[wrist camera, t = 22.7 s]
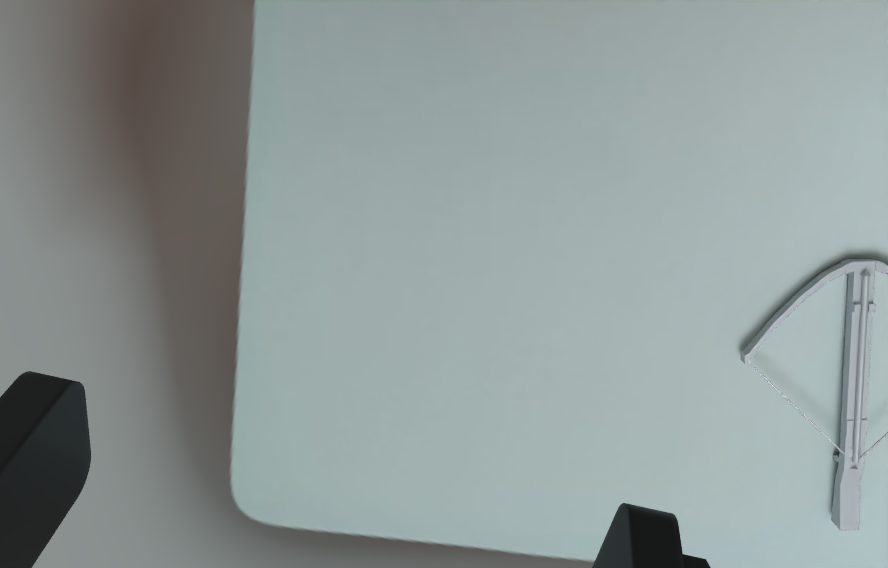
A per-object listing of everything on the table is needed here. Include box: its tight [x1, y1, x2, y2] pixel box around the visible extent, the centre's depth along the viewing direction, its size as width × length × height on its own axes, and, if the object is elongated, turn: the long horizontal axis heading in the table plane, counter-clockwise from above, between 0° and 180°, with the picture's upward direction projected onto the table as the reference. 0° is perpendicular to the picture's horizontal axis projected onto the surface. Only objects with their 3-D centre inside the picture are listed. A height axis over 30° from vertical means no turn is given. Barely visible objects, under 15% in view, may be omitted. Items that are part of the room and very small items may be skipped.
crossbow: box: [741, 258, 888, 530], centre depth 47 cm, size 16×13×2 cm
